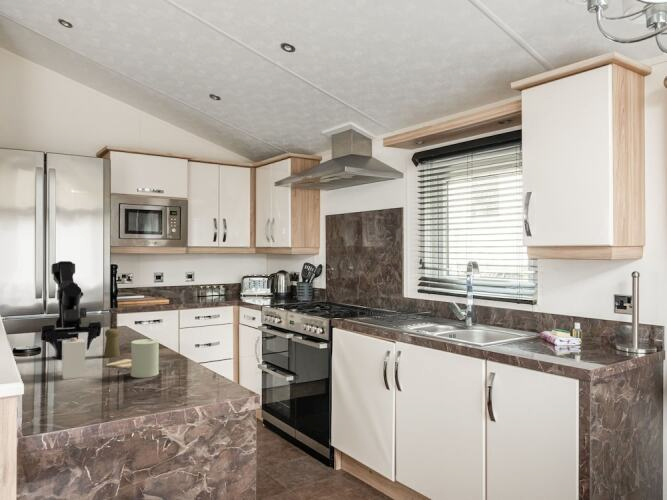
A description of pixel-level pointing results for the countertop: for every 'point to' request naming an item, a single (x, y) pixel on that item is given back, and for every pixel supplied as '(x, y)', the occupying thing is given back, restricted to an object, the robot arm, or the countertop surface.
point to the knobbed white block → (73, 358)
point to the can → (144, 358)
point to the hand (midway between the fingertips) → (73, 350)
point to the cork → (112, 343)
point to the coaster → (121, 363)
